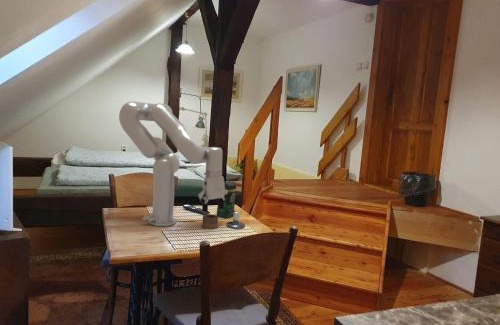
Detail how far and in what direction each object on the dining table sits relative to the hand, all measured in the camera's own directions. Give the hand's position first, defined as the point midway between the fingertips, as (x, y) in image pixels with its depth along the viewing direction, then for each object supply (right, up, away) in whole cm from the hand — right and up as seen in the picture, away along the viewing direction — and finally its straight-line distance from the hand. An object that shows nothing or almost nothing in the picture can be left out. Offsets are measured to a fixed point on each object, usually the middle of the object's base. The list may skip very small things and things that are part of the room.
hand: (213, 210), depth 168 cm
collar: (-2, -8, +1) cm, 8 cm away
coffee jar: (+4, -6, +22) cm, 23 cm away
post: (+10, -8, +5) cm, 14 cm away
